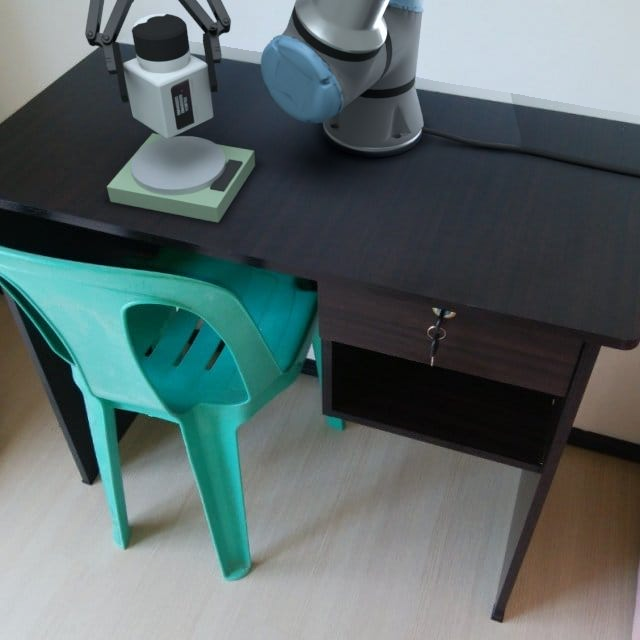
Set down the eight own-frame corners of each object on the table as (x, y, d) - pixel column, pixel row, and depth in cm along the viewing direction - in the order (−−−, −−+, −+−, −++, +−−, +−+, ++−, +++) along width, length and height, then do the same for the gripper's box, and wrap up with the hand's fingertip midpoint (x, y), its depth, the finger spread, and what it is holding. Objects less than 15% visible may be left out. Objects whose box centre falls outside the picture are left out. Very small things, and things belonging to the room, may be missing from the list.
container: (214, 118, 99) (204, 21, 89) (167, 140, 95) (150, 42, 86) (178, 96, 102) (164, 1, 93) (131, 117, 99) (112, 20, 89)
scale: (255, 165, 109) (253, 144, 106) (218, 222, 100) (215, 201, 97) (155, 147, 112) (151, 127, 110) (110, 201, 103) (105, 180, 100)
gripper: (231, -76, 98) (258, 92, 99) (50, -62, 94) (80, 113, 95) (234, -109, 91) (263, 74, 91) (38, -95, 87) (70, 95, 88)
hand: (170, 94), depth 93 cm, fingers closed on container, 10 cm apart
